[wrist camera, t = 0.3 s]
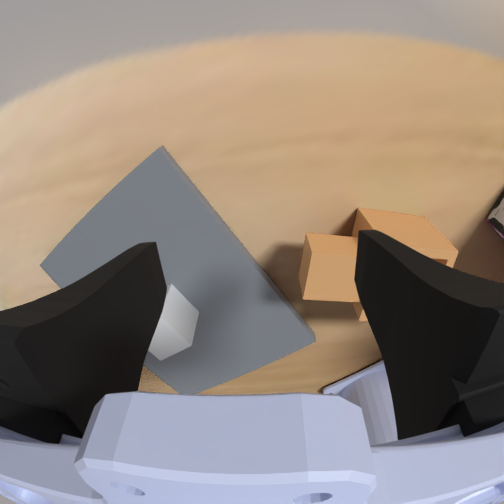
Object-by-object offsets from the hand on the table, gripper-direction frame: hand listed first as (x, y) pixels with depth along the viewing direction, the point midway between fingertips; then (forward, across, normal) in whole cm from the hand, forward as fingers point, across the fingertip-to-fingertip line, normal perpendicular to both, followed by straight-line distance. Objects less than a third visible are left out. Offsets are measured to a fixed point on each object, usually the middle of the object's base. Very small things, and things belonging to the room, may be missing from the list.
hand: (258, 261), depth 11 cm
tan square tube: (+9, -7, +5) cm, 12 cm away
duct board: (+9, +7, +8) cm, 14 cm away
